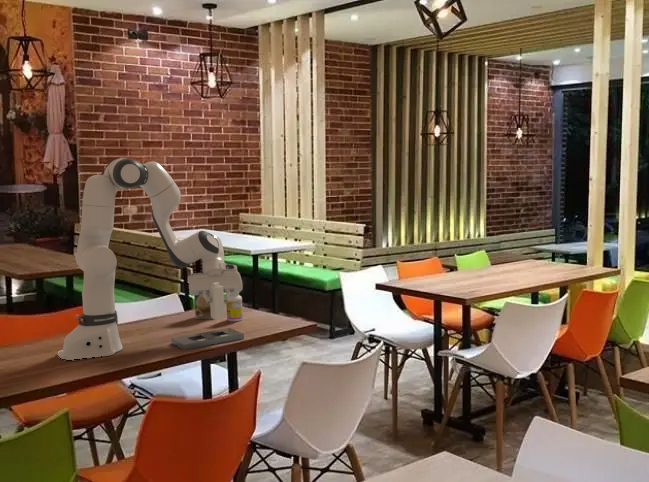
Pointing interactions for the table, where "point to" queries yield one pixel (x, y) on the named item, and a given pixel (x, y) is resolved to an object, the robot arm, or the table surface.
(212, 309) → the plug
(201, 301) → the coffee box
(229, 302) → the supplement bottle
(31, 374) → the table surface
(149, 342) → the table surface
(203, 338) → the panel
